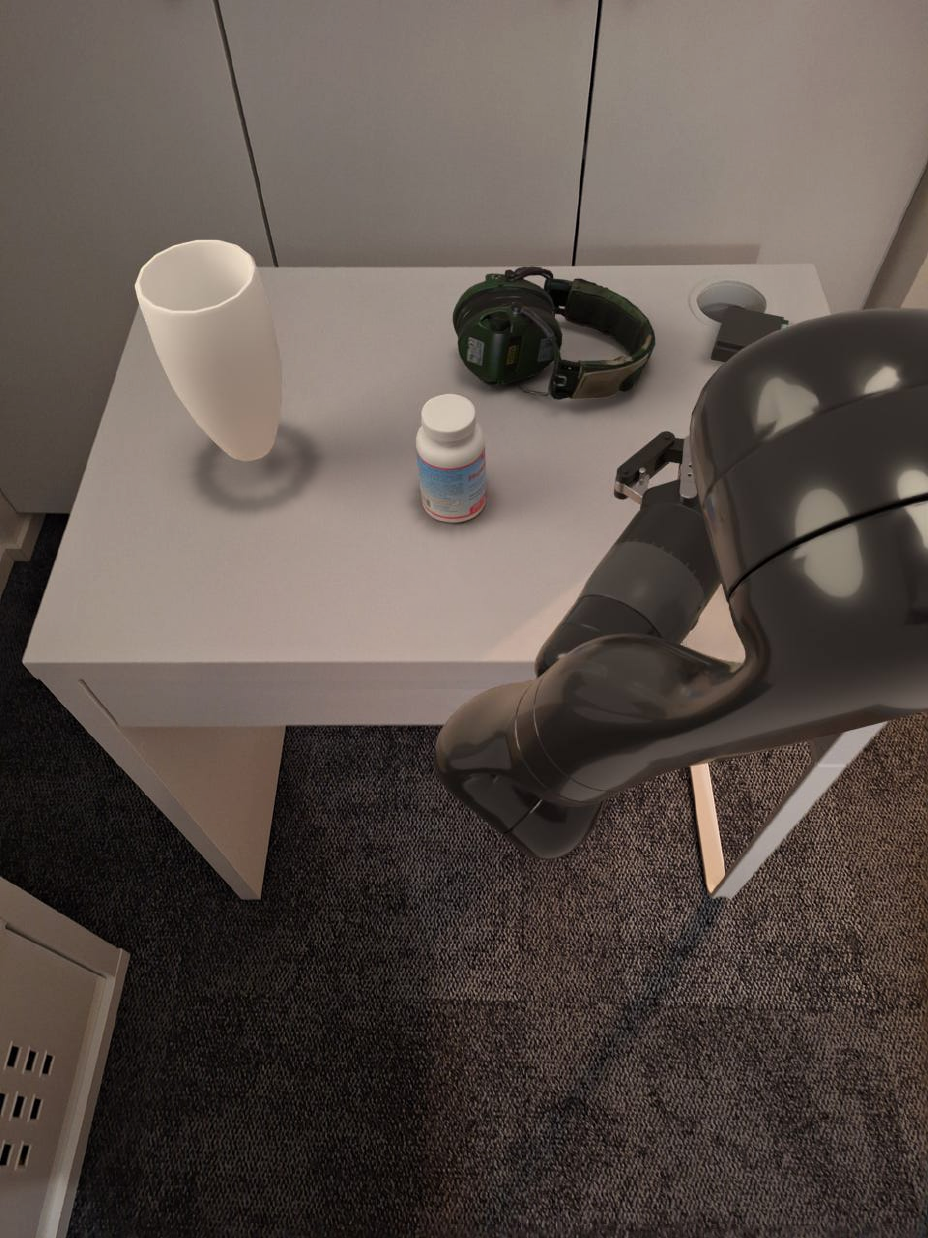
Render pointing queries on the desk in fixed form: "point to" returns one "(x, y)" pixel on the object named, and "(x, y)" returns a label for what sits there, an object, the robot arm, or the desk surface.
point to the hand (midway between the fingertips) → (757, 435)
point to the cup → (216, 341)
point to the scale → (743, 331)
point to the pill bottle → (451, 459)
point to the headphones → (549, 333)
